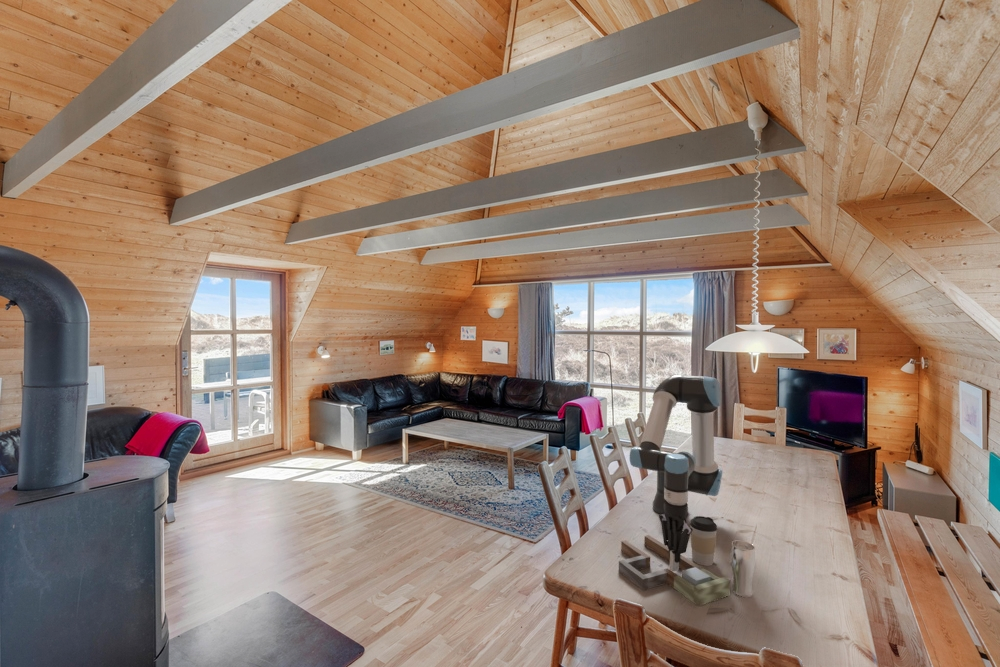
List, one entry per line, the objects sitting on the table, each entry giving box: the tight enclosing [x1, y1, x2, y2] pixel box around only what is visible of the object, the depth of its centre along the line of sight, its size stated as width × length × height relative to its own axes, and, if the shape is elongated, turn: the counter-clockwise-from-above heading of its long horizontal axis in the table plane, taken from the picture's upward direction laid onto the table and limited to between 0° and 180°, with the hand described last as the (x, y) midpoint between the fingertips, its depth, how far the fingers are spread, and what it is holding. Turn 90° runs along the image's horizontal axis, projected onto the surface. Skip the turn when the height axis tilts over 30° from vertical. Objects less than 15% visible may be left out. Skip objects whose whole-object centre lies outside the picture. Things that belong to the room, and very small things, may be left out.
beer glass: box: [730, 539, 756, 598], centre depth 146 cm, size 7×7×15 cm
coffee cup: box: [689, 515, 718, 567], centre depth 164 cm, size 9×9×15 cm
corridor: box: [618, 534, 731, 607], centre depth 155 cm, size 23×36×5 cm, turn 24°
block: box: [681, 567, 710, 586], centre depth 147 cm, size 6×6×5 cm
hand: (674, 569), depth 156 cm, fingers closed
